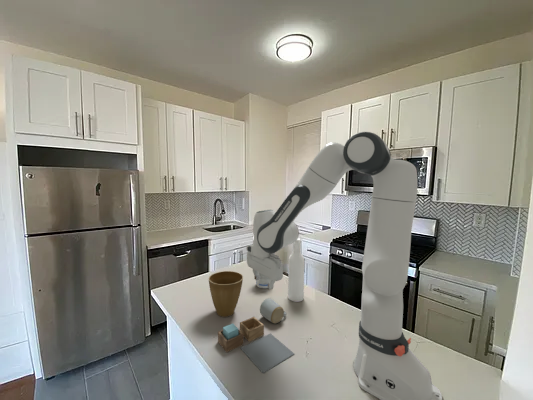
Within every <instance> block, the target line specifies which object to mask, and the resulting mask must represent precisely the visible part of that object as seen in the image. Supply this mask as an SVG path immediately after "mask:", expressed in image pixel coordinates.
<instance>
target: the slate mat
mask: <svg viewBox="0 0 533 400" xmlns="http://www.w3.org/2000/svg"><path fill="white" fill-rule="evenodd" d="M277 338H278V337H275V336H274V335H273V334H272V333H268V334H266V335H265V336H264V335H263V336H261V337H259V338H257V339H256V340H254V341H251V342H249V343H248V344H245V345H242V346H240V350H242V352H243V353H244V354H245V355H246V356H247V358H248V359H249V360H250V361H251V362H252V363H253V365H255V366H256V368H257V369H258V370H259V371H260V372H261V373H262V374H265V373H267V372H268V371H270V370H271V369H273V368H274V367H276V366H278V365H280V364H281V363H283V362H285V361H286V360H288V359H289V358H291V357H293V356H294V355H295V353H294V352H293V351H292V350H291V349H290V348H289V347H288V346H286V345H285V343H283V342H281V341H280V340H279V339H277Z"/></svg>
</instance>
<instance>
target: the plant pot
mask: <svg viewBox="0 0 533 400" xmlns="http://www.w3.org/2000/svg"><path fill="white" fill-rule="evenodd" d="M243 281H244V276H243V274H242V273H240V272H239V271H238V272H237V271H232V270H231V271H230V270H225V271H224V270H223V271H219V272H214V273H212V274H211V275H210V276H208V284H209V291H210V297H211V300H212V304H213V306H214V309H215V312H216V314H217V315H218V316H219V317H223V318H227V317H230V316H232V315H233V314H234V313H235V310H236V309H237V308H236V307H237V305H238V302H239V299H240V296H241V291H242V286H243Z"/></svg>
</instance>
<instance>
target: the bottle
mask: <svg viewBox="0 0 533 400" xmlns="http://www.w3.org/2000/svg"><path fill="white" fill-rule="evenodd" d="M301 243H302V241H301V238H300V237H298V238H297V240H296V241H295V242H293V243H292V253H290V255H289V257H288V270H287V271H288V272H287V274H288V277H287V278H288V279H287V280H288V281H287V282H288V283H287V284H288V285H287V297H288V300H289V301H291V302H302V301H303V300H304V298H305V290H304V289H305V258H304V255H303V254H302V253H301Z"/></svg>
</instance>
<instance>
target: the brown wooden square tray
mask: <svg viewBox="0 0 533 400" xmlns="http://www.w3.org/2000/svg"><path fill="white" fill-rule="evenodd" d="M217 343H218V344H219V345H220V346H221V348H222V349H223V350H224V351H225V353H229V352H231V351H233V350H236V349H237V348H239V347H242V346H244V336H243V333H242V332H241V331H240V328H238V336H236V337H233V338H231V339H229V340H227V339H226V338H225V337H224V336H223V329H221V330H218V331H217Z"/></svg>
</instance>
